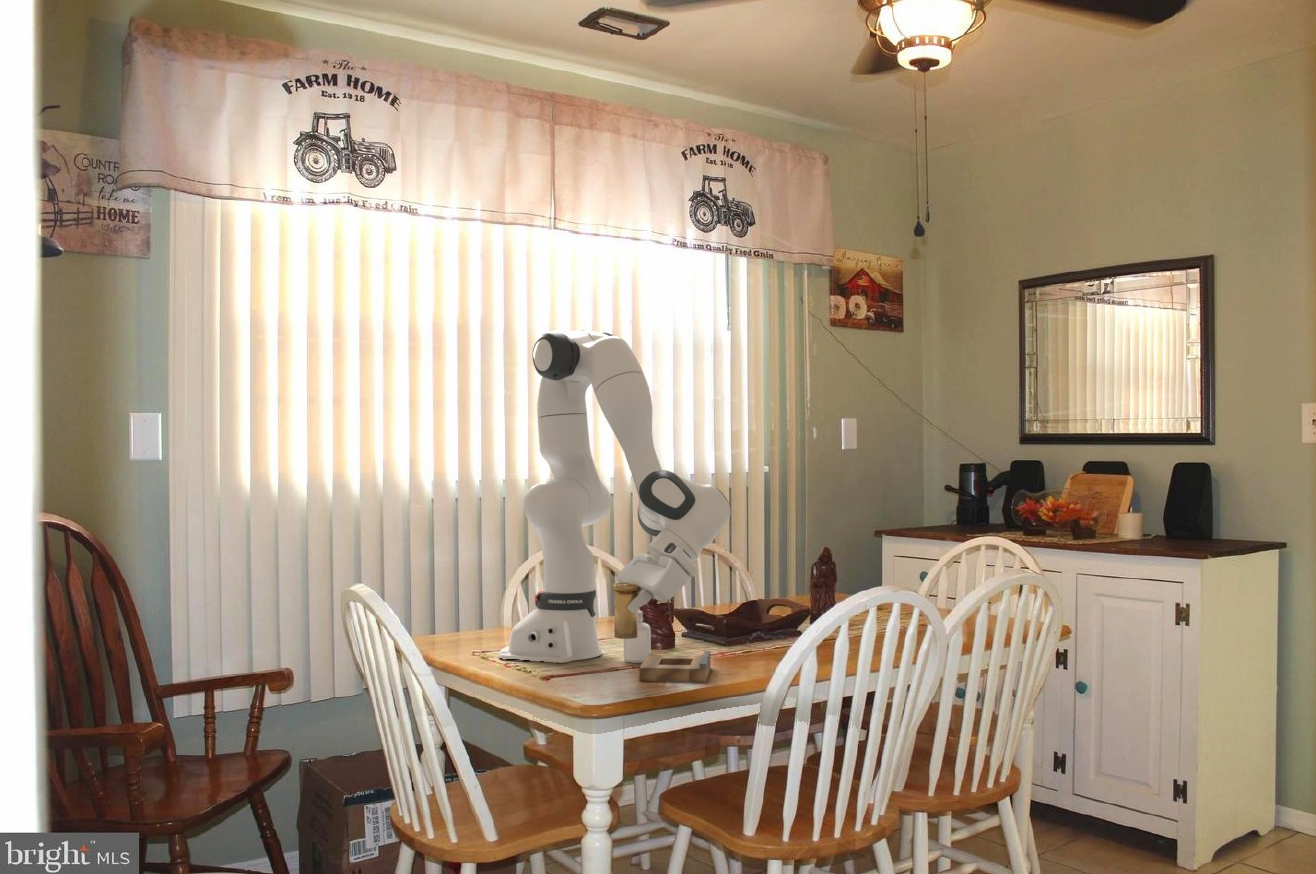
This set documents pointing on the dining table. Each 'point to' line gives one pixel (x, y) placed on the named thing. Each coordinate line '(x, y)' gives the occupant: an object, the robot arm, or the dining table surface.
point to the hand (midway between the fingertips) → (623, 608)
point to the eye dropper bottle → (638, 643)
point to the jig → (675, 668)
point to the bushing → (625, 610)
